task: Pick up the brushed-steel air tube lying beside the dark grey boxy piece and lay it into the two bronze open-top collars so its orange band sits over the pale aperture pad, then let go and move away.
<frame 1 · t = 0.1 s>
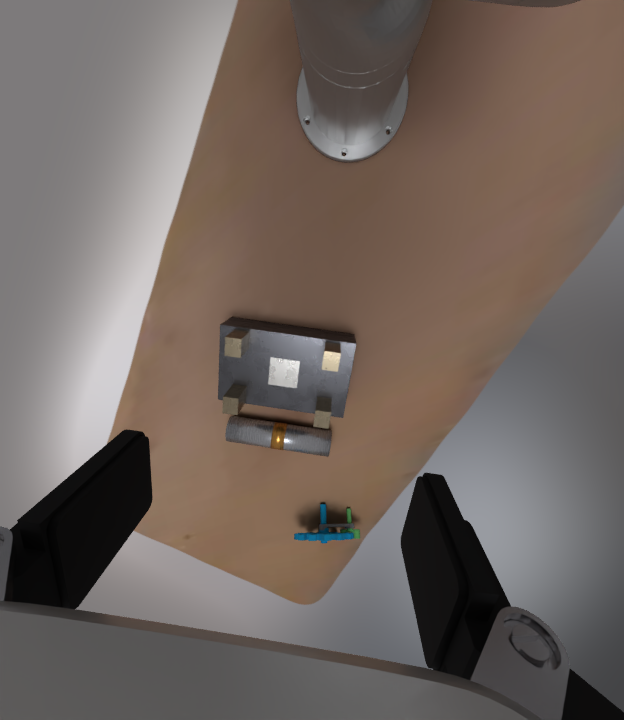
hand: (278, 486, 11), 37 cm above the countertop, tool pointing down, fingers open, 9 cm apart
air tube: (279, 435, 51), point 2 cm above the countertop
dark grey boxy piece: (289, 360, 49), on the countertop
gear: (327, 517, 58), on the countertop
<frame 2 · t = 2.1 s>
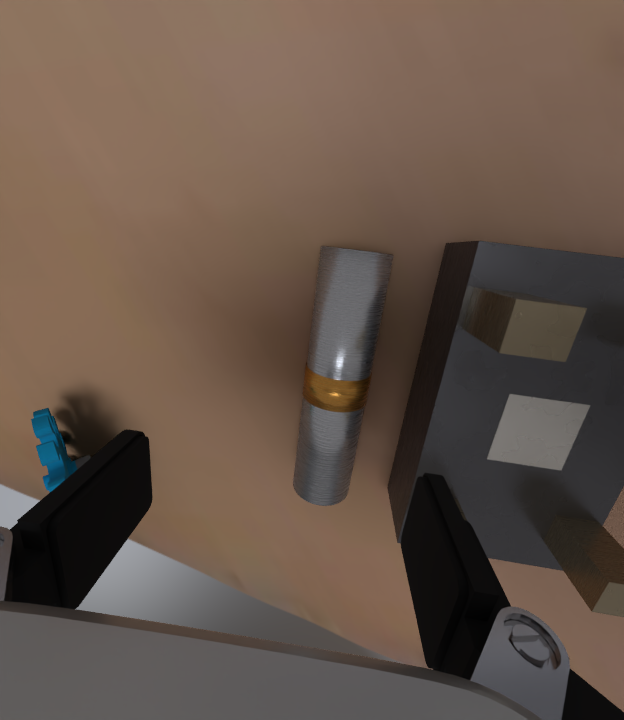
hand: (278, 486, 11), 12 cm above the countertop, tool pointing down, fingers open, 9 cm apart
air tube: (336, 382, 20), point 2 cm above the countertop, tilted 36°
dark grey boxy piece: (494, 393, 22), on the countertop
gear: (105, 449, 27), on the countertop
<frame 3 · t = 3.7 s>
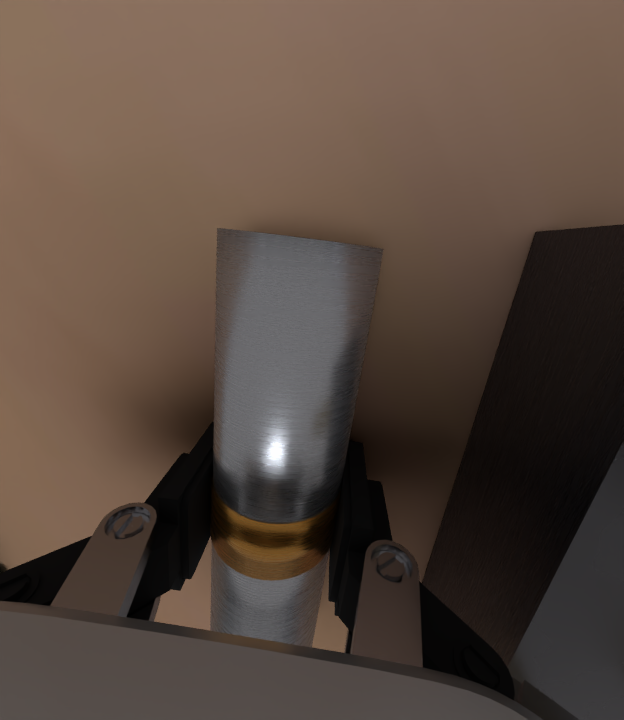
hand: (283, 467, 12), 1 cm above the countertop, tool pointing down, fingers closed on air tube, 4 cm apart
air tube: (276, 497, 11), point 2 cm above the countertop, touching gripper
dark grey boxy piece: (601, 505, 12), on the countertop
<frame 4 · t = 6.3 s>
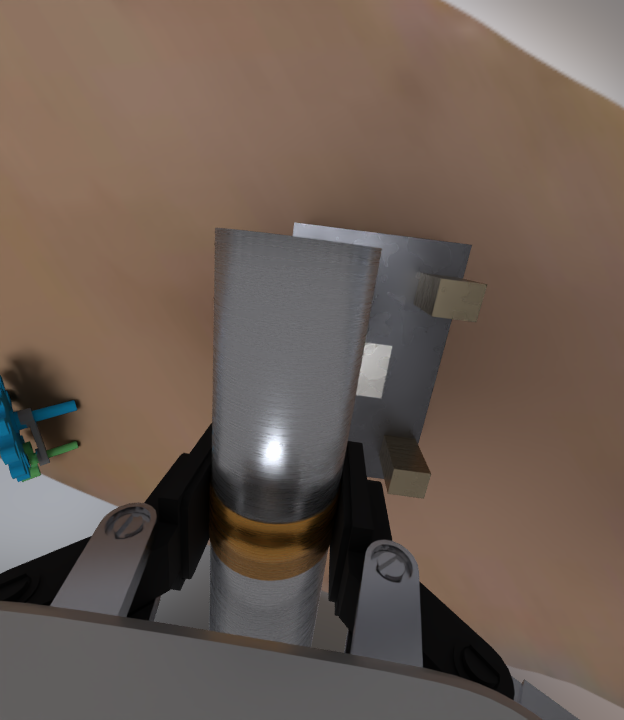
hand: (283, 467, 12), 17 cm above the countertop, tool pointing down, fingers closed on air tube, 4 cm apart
air tube: (274, 497, 11), point 18 cm above the countertop, touching gripper
dark grey boxy piece: (353, 348, 28), on the countertop
gear: (47, 407, 31), on the countertop
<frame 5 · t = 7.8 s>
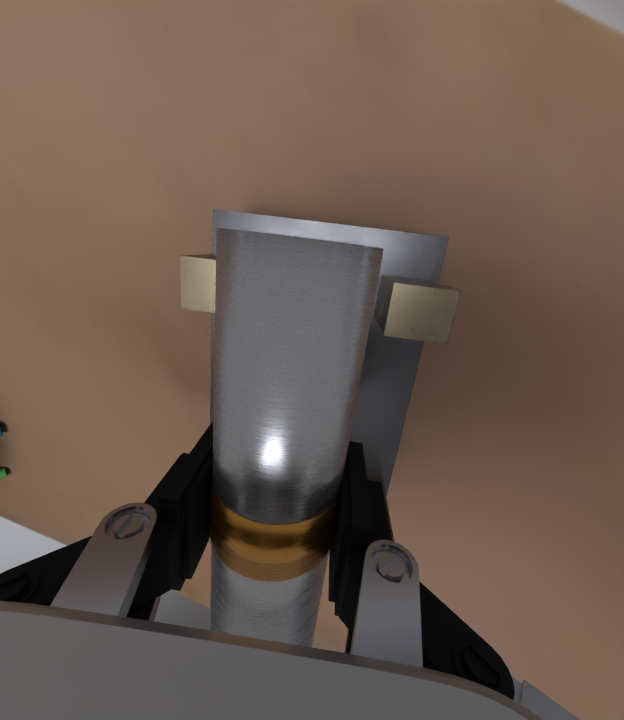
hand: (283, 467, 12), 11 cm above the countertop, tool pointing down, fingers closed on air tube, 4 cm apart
air tube: (275, 498, 11), point 13 cm above the countertop, touching gripper
dark grey boxy piece: (314, 366, 23), on the countertop
when the fingers open (6 cm above the countertop, at t = 9.0 s): air tube stays where it is, resting on dark grey boxy piece.
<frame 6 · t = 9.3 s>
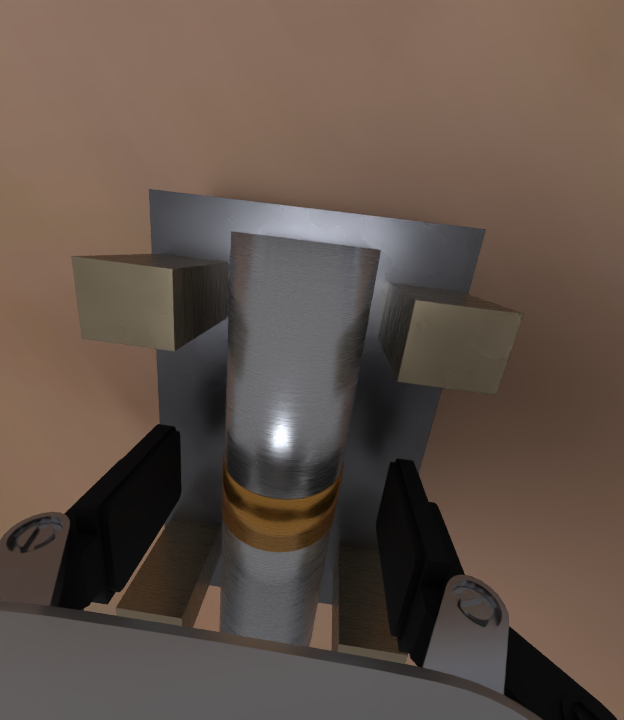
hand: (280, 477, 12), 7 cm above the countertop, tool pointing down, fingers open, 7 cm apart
air tube: (282, 479, 11), point 7 cm above the countertop, touching dark grey boxy piece
dark grey boxy piece: (301, 393, 18), on the countertop
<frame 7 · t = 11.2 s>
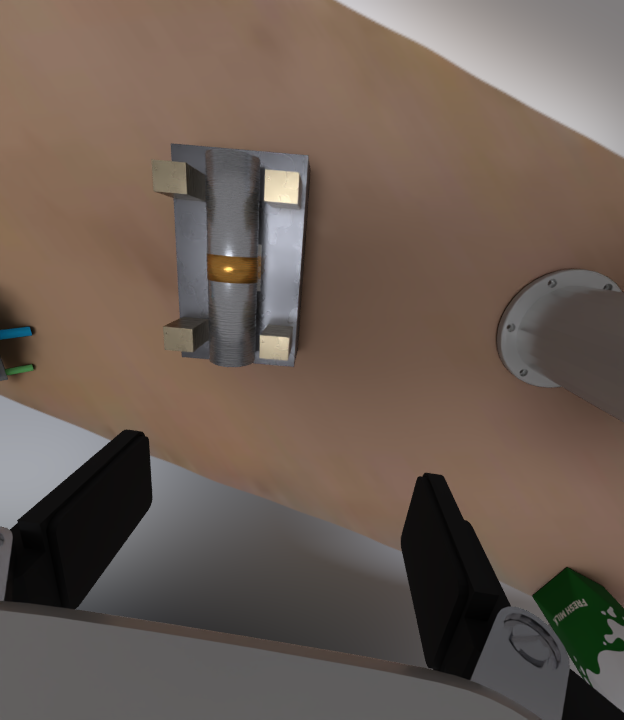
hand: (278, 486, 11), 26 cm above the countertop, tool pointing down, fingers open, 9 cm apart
air tube: (232, 267, 27), point 7 cm above the countertop, touching dark grey boxy piece
dark grey boxy piece: (250, 263, 33), on the countertop
gear: (6, 334, 37), on the countertop
milk carton: (565, 589, 47), on the countertop
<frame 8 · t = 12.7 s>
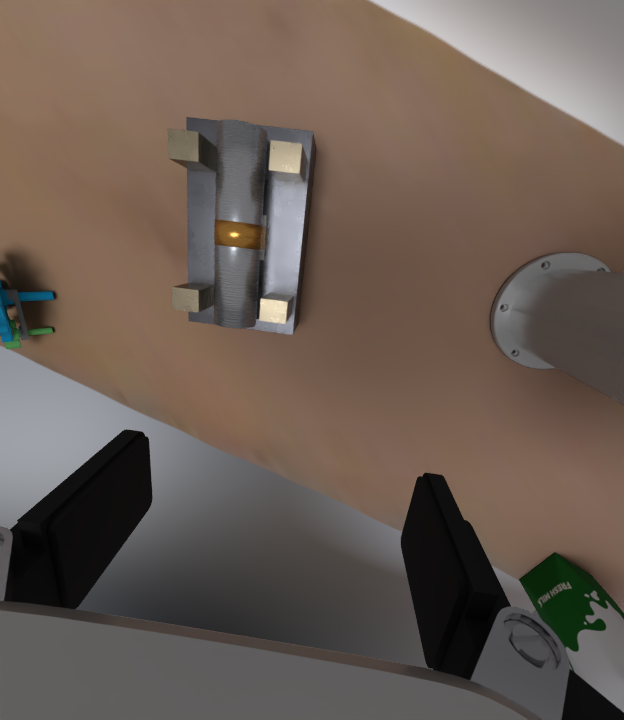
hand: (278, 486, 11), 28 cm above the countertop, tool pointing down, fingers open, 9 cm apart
air tube: (238, 235, 29), point 7 cm above the countertop, touching dark grey boxy piece
dark grey boxy piece: (256, 237, 35), on the countertop
gear: (30, 297, 40), on the countertop
milk carton: (553, 575, 48), on the countertop
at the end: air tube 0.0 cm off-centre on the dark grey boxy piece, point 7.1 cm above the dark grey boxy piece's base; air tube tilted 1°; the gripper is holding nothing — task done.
